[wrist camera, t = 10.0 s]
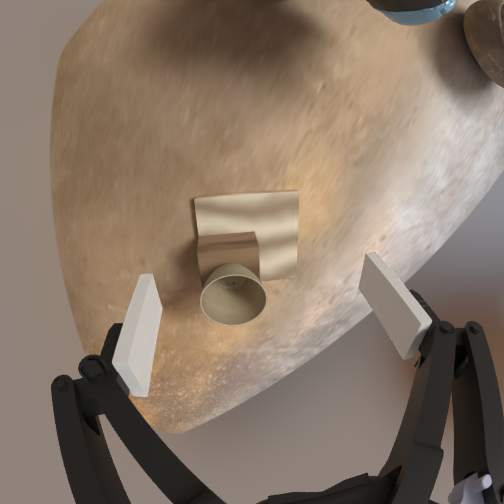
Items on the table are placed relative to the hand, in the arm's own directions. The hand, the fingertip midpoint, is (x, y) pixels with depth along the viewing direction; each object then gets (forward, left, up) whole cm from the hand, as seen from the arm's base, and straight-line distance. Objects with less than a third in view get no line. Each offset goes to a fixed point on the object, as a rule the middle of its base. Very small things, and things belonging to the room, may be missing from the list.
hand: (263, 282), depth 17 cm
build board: (+14, +2, -33) cm, 35 cm away
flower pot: (+17, -2, -26) cm, 31 cm away
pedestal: (+17, -2, -32) cm, 36 cm away
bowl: (-35, +59, -33) cm, 76 cm away
